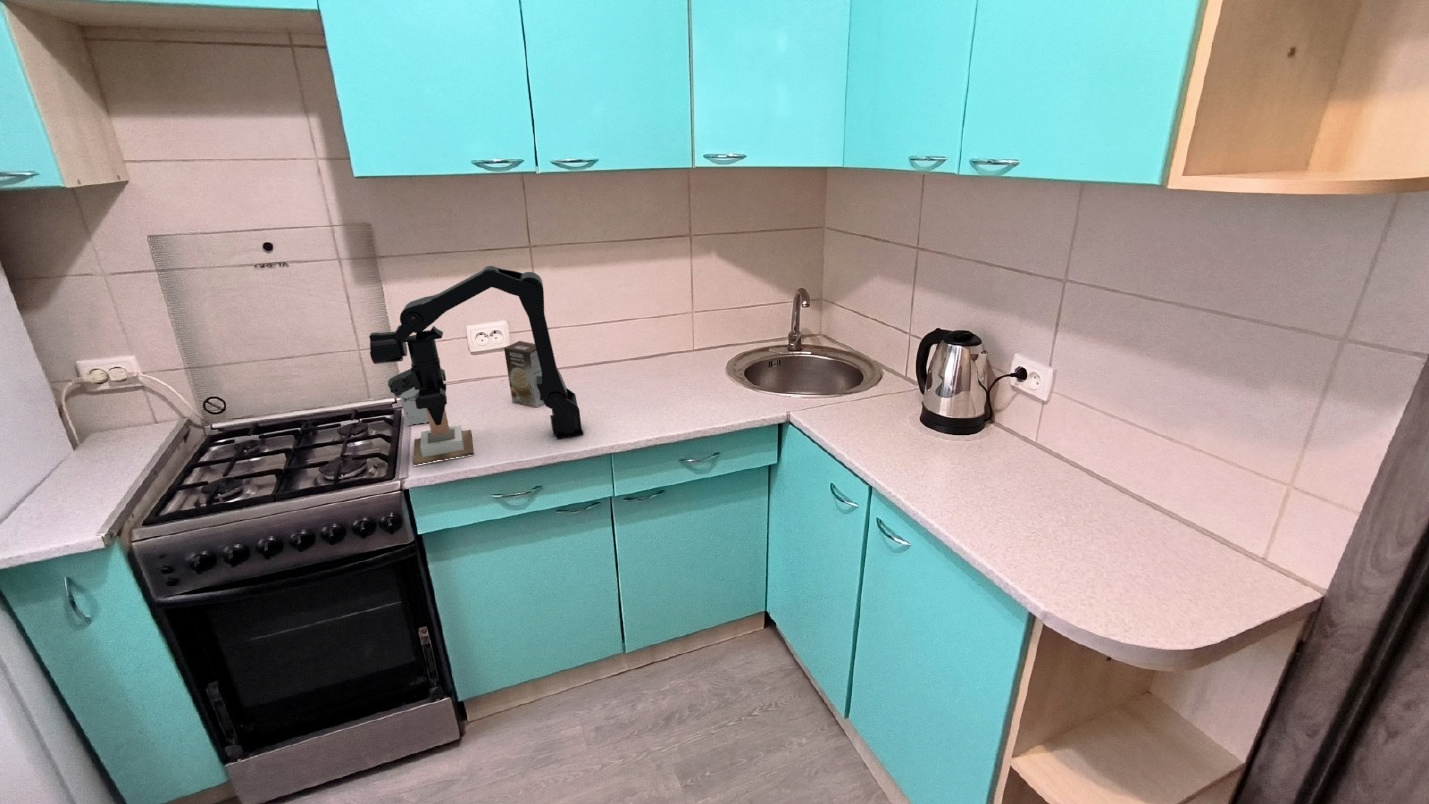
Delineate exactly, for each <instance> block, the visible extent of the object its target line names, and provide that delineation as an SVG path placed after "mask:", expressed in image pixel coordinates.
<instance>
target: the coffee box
mask: <svg viewBox="0 0 1429 804" xmlns="http://www.w3.org/2000/svg"><path fill="white" fill-rule="evenodd" d="M503 350H504V357H505V362H506V369H507V376H508V382H509V389H510V394H511V402H512V403H515V404H519V405H523V406H527V407H532V408H539V407H541V406H543V405H545V404H544V402H543V400H542V401H540V393H539V390H538V387H537V382H536V376H542V371H541V367H540V363H539V359H538V355H537V350H536V346H535V343H532V342H527V341H522V340H519V341H516V342H514V343H510V344H509V345H507V346H505V347H503Z"/></svg>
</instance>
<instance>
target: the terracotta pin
mask: <svg viewBox="0 0 1429 804" xmlns="http://www.w3.org/2000/svg"><path fill="white" fill-rule="evenodd" d="M426 411H427V415H428V420H429V423H428V424H429V430H431V433H432V434H434V435H439V434H444V433H446V432H448V431H449V427H450V426H449V421H448V417H447V412H446V408H445V409H444V413H443V418H442V422H441V425H436V424H435V423H434V421H433V419H432V417H431V415H430V413H429V411H428V409H427V408H426Z"/></svg>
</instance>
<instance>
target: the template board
mask: <svg viewBox="0 0 1429 804" xmlns="http://www.w3.org/2000/svg"><path fill="white" fill-rule="evenodd" d="M471 433H472V430H471V429H467V430H466V429H465V430H463V429H462V425H461V424H460V425H454V426H449V431H448V432H446V433H444V434H439V435H434V434H432V433H431V429H429V430H425V431H424V430H423V431H420V438H415V439H414V442H413V443H414V444H413V457H412V459H413V460H412V464H413V465H412V466H414V465H418V464H423V463H428V462H433V461H437V460H445V459H450V458H456V457H462V456H468V455H474V456H475V453H474V452H475V451H474V445H473V444H474V443H472V442H473V436H472V434H471ZM473 451H474V452H473Z"/></svg>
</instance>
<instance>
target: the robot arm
mask: <svg viewBox="0 0 1429 804" xmlns="http://www.w3.org/2000/svg"><path fill="white" fill-rule="evenodd" d="M543 283H544V282H543V280H542V277H540V275H539V274H537V273H536V272H532V271H525V272H519V271H516V270H511V269H510V270H509V269H505V268H499V267H497V266H494V265H489V266H487V265H486V267H484V268H483V269H482V270H481V271H479V272H477V273H475V274H473V275H471V276H469V277H467V278H466V279H463V280H461V281H459V282H457V283H456V284H454V285H452V286H451V287H448V288H447V289H445V290H442V291H441V292H439V293H436V294H434V295H430V296H424V297H420V298H417V299H414V300H411V301H409V302H408V303H407V304H405V306H404V308H403V309H402V311H401V313H400V316H399V322H400V325H398V326H397V328H396V330H395V331H387V332H386V331H385V332H377V331H376V332H371V333H370V334H369V336H368V337H369V348H370V351H369V355H370V359H371V361H372V363H373V364H374V365H379V364H388V363H398V362H403V360H404V357H407V356H408V351H409V357H410V360H411V363H410V365H411V367H410V368H409V369H407V370H405V371H401V372H402V373H400V372H399V374H396V375H394V376H392V377H390V378H389V379H388V381H387V386H388V387H389V389H390V390H389V391H390V393H392V394H393V395H394V396H395V397H400V395H401V394H402V393H404V392H406V391H408V390H410V389H412V388H413V387H415V390H419V392H418V393H417V394H416V396H415V403H416V407H417V409H424V408H427V409H428V411H429V413H430V415H431V417H432V419H433V421H434V423H435V424H436V425H441V422H442V418H443V413H444V409H445V410H446V405H447V404H448V398H447V394H446V391H447V384H446V383H445V382H446V381H447V375H446V370H445V369H443V368H441V359H440V357H439V353H438V348H437V344H436V340H440V339H442V338H443V335H444V332H443V330H441V329H438V328H437V327H436V326H435V325H433V326H432V327H431V329H429V330H426V329H427V328H429V327H430V326H431V325H432V324H434V322H436V321H437V320H438V319H439V318H441V316H443V314H445V313H447V312H448V311H450V310H451V309H454V308H455V307H457V306H459V305H461V304H463V303H465V302H466V301H469V300H470V299H472V298H473V297H476V296H477V295H480V294H481V293H484V292H485V291H488V290H489V289H490V288H493V289H497V290H500V291H502V292H505V293H507V294H509V295H513V296H516V297H518V298H519V301H520V302H521V303H520V304H521V306H522V308H523V309H524V312H525V313H526V315H527V317H528V320H529V325H530V328H531V329H530V330H531V334H532V338H533V342H534V344H535V346H536V350H537V355H538V359H539V363H540V367H541V371H542V376H536V382H537V387H538V390H539V393H540V401H542V400H543V402H544V404H543V405H544V406H545V407H546V408H548V409H551V415H549V416H550V426H551V430H552V434H553V435H555V437H556V440H557V439H558V440H560V439H565V438H566V439H567V438H571V437H576V436H581V435H584V430H583V428H582V421H581V414H580V413H581V412H580V408H579V406H578V405H579V404H578V400H577V396H576V395H577V394H576V393H574V392H573V391H572V390H570V389H569V388H568V387H567V385H566V383H565V381H564V378H563V376H562V375H561V372H560V369H558V366H557V362H556V358H555V353H554V349H553V346H552V341H551V337H550V332H549V328H548V323H547V320H546V314H545V296H544V295H545V294H544V284H543ZM413 333H414V334H413Z"/></svg>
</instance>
